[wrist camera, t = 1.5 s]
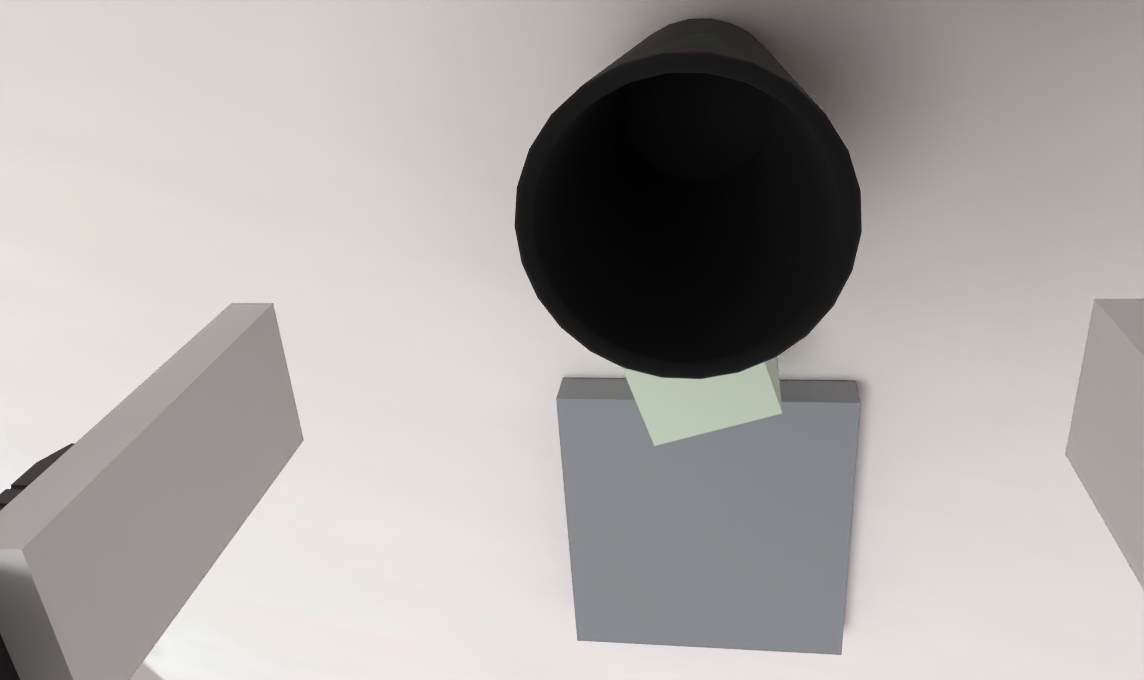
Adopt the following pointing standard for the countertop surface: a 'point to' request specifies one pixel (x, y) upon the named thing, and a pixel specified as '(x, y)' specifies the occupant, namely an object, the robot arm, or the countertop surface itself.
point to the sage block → (705, 401)
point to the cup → (689, 207)
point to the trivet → (710, 521)
